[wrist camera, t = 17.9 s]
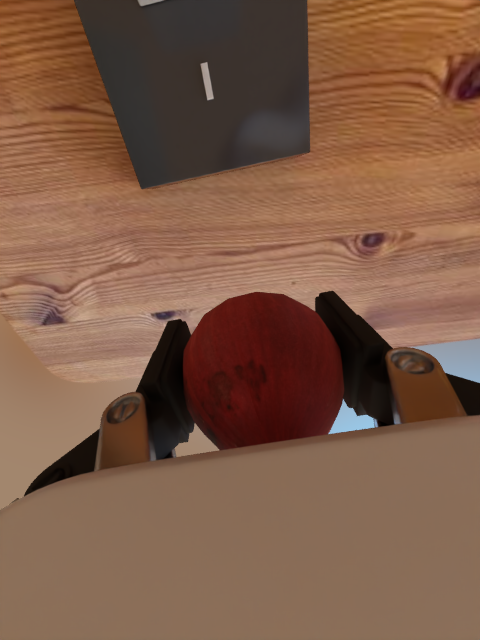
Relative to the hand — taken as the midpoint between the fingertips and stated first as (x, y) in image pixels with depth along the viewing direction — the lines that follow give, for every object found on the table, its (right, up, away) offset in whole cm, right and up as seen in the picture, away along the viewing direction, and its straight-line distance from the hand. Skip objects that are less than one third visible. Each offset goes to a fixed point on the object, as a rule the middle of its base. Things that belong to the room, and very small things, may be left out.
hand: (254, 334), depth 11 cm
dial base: (-3, +17, +3) cm, 17 cm away
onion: (0, +1, +1) cm, 2 cm away
